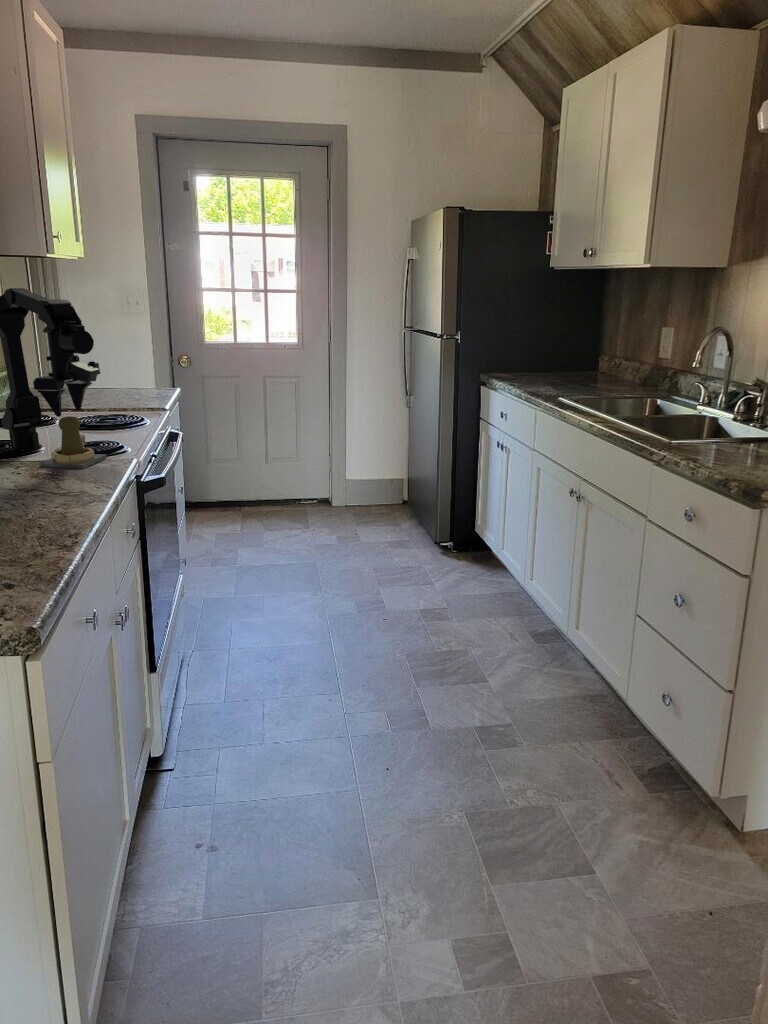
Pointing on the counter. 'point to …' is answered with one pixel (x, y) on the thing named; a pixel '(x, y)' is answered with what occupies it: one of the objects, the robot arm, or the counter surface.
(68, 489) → the counter surface
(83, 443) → the walnut block
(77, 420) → the olive brown tapered cylinder
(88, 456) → the cup bracket
